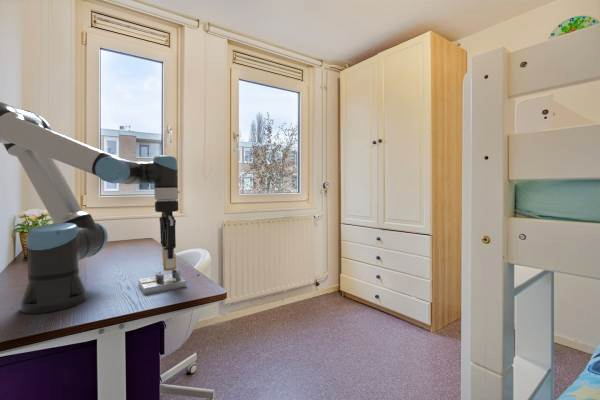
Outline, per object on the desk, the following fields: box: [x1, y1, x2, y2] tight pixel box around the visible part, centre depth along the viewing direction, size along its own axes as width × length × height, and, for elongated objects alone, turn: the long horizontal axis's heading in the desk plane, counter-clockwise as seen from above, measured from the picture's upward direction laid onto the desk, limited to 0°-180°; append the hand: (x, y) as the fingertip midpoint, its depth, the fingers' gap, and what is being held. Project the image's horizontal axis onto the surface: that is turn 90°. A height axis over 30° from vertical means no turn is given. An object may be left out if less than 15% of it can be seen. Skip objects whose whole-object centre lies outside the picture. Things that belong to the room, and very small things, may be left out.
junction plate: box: [138, 268, 187, 295], centre depth 103 cm, size 13×12×4 cm
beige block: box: [162, 250, 177, 272], centre depth 105 cm, size 4×4×7 cm
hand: (168, 266), depth 104 cm, fingers closed on beige block, 4 cm apart
